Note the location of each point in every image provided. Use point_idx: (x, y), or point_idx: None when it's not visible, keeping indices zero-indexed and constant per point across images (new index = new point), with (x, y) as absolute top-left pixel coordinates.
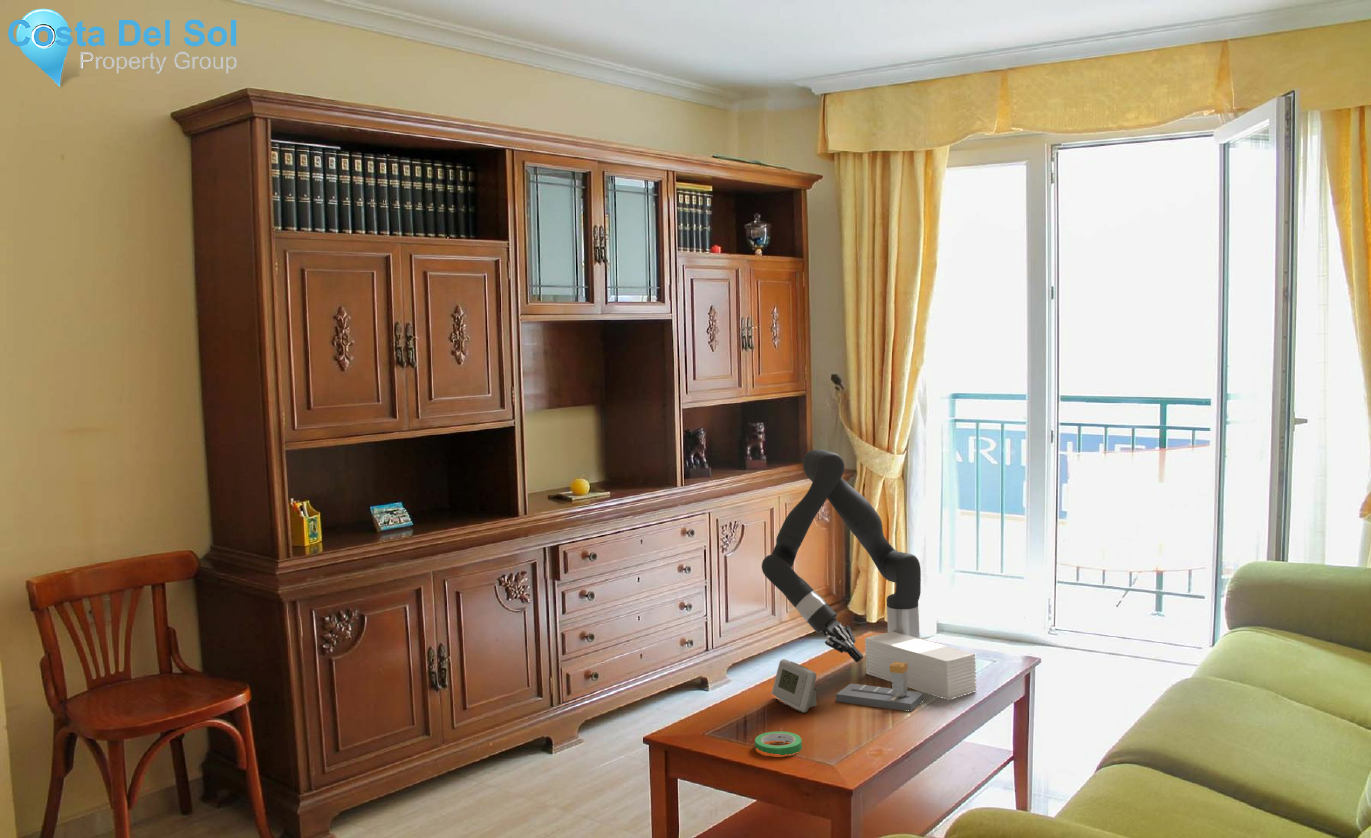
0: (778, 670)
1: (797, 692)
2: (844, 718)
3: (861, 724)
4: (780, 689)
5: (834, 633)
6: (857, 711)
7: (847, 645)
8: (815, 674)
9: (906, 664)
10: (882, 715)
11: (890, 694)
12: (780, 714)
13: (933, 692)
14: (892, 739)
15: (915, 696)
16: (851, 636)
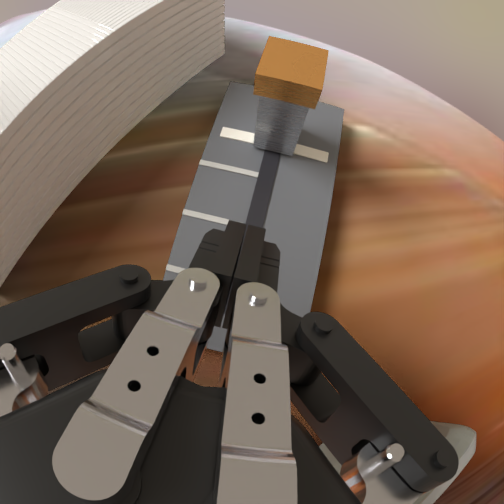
0: None
1: None
2: (436, 298)
3: (460, 243)
4: None
5: (330, 491)
6: (376, 271)
7: (304, 318)
8: (467, 427)
9: (283, 40)
10: (389, 193)
11: (270, 165)
12: None
13: (183, 76)
14: (498, 170)
15: None
16: (92, 302)
